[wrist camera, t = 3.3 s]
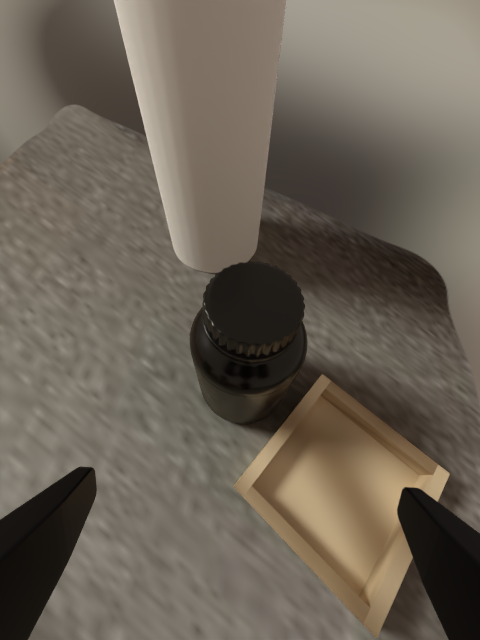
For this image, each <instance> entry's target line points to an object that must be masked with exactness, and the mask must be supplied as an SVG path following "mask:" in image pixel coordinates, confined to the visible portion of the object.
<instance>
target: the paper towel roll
mask: <svg viewBox="0 0 480 640" xmlns="http://www.w3.org/2000/svg"><path fill="white" fill-rule="evenodd" d="M114 3H115V7H116V11H117V16H118V20H119V24H120V28H121V32H122V36H123V40H124V45H125V49H126V53H127V57H128V61H129V65H130V69H131V74H132V77H133V82H134V86H135V90H136V94H137V99H138V102H139V106H140V110H141V115H142V119H143V123H144V128H145V132H146V136H147V140H148V144H149V148H150V152H151V157H152V161H153V165H154V169H155V173H156V177H157V181H158V185H159V190H160V194H161V198H162V202H163V206H164V210H165V214H166V219H167V223H168V227H169V231H170V235H171V239H172V243H173V248H174V251H175V253H176V255H177V256H178V258H179V259H180V260H181V261H182V262H183V263H184V264H186V265H187V266H189V267H191V268H193V269H195V270H198V271H202V272H208V273H218V272H221V271H222V270H223V269H224V268H227V267H229V266H231V265H234V264H238V263H240V262H242V263H246V262H248V261H249V260H250V259H251V258H252V257H253V255H254V254H255V251H256V249H257V244H258V236H259V227H260V219H261V210H262V201H263V193H264V184H265V175H266V167H267V158H268V149H269V141H270V132H271V125H272V116H273V107H274V98H275V90H276V82H277V73H278V65H279V56H280V48H281V39H282V30H283V21H284V13H285V4H286V0H114Z"/></svg>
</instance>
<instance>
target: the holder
mask: <svg viewBox="0 0 480 640" xmlns="http://www.w3.org/2000/svg"><path fill="white" fill-rule="evenodd" d="M449 475H450V473H448V472H447V471H446V470H444V469H443V468H442V467H441V466H439V465H438V464H437V463H436V462H434V461H433V460H432V459H430V458H429V457H428V456H427V455H425V454H424V453H423V452H421V451H420V450H419V449H418V448H416V447H415V446H414V445H413V444H411V443H410V442H409V441H407V440H406V439H405V438H404V437H402V436H401V435H400V434H398V433H397V432H396V431H395V430H393V429H392V428H391V427H390V426H388V425H387V424H386V423H384V422H383V421H382V420H381V419H379V418H378V417H377V416H375V415H374V414H373V413H372V412H370V411H369V410H368V409H367V408H365V407H364V406H363V405H361V404H360V403H359V402H358V401H356V400H355V399H354V398H352V397H351V396H350V395H349V394H347V393H346V392H345V391H344V390H342V389H341V388H340V387H338V386H337V385H336V384H335V383H333V382H332V381H331V380H329V379H328V378H327V377H326V376H324V375H323V374H322V375H321V376H320V377H319V378H318V379H317V381H316V382H315V383H314V384H313V385H312V387H311V388H310V389H309V391H308V392H307V393H306V394H305V396H304V397H303V398H302V399H301V401H300V402H299V403H298V405H297V406H296V407H295V408H294V410H293V411H292V412H291V413H290V415H289V416H288V417H287V419H286V420H285V421H284V422H283V424H282V425H281V426H280V427H279V429H278V430H277V431H276V433H275V434H274V435H273V436H272V438H271V439H270V440H269V441H268V443H267V444H266V445H265V447H264V448H263V449H262V450H261V452H260V453H259V454H258V455H257V457H256V458H255V459H254V461H253V462H252V463H251V464H250V466H249V467H248V468H247V469H246V471H245V472H244V473H243V475H242V476H241V477H240V478H239V480H238V481H237V482H236V483H235V485H234V488H235V489H236V490H237V491H238V492H239V493H240V494H241V495H242V496H243V497H244V498H245V499H246V500H247V501H248V502H249V504H250V505H251V506H252V507H253V508H254V509H255V510H256V511H257V512H258V513H259V514H260V515H261V516H262V517H263V518H264V519H265V521H266V522H267V523H268V524H269V525H270V526H271V527H272V528H273V529H274V530H275V531H276V532H277V533H278V534H279V535H280V536H281V538H282V539H283V540H284V541H285V542H286V543H287V544H288V545H289V546H290V547H291V548H292V549H293V550H294V551H295V552H296V553H297V555H298V556H299V557H300V558H301V559H302V560H303V561H304V562H305V563H306V564H307V565H308V566H309V567H310V568H311V569H312V571H313V572H314V573H315V574H316V575H317V576H318V577H319V578H320V579H321V580H322V581H323V582H324V583H325V584H326V585H327V586H328V588H329V589H330V590H331V591H332V592H333V593H334V594H335V595H336V596H337V597H338V598H339V599H340V600H341V601H342V602H343V603H344V605H345V606H346V607H347V608H348V609H349V610H350V611H351V612H352V613H353V614H354V615H355V616H356V617H357V618H358V619H359V620H360V622H361V623H362V624H363V625H364V626H365V627H366V628H367V629H368V630H369V631H370V632H371V633H372V634H373V635H374V636H375V637H376V639H377V637H378V635H379V633H380V630H381V628H382V626H383V624H384V621H385V619H386V617H387V615H388V612H389V610H390V608H391V606H392V603H393V601H394V599H395V597H396V594H397V592H398V590H399V588H400V585H401V583H402V581H403V579H404V576H405V574H406V572H407V570H408V567H409V565H410V563H411V561H412V558H413V557H412V554H411V551H410V548H409V546H408V543H407V540H406V538H405V535H404V532H403V530H402V527H401V524H400V522H399V519H398V515H397V507H398V503H399V500H400V496H401V492H402V489H403V488H404V487H415V488H419V489H421V490H423V491H424V492H425V493H427V494H428V495H429V496H430V497H432V498H433V499H434V500H436V501H437V502H438V500H439V498H440V495H441V493H442V491H443V489H444V486H445V484H446V482H447V480H448V477H449Z"/></svg>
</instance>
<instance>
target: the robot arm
mask: <svg viewBox="0 0 480 640" xmlns="http://www.w3.org/2000/svg"><path fill="white" fill-rule="evenodd" d="M96 491H97V488H96V477H95V470H94V468H92V467H78V468H76V469H75V470H73V471H72V472H70V473H69V474H67V475H66V476H64V477H63V478H61V479H60V480H58V481H57V482H55V483H54V484H52V485H51V486H50V487H48V488H47V489H45V490H44V491H42V492H41V493H39V494H38V495H36V496H35V497H33V498H32V499H30V500H29V501H27V502H26V503H24V504H23V505H21V506H20V507H18V508H17V509H15V510H14V511H12V512H11V513H10V514H8V515H7V516H5V517H4V518H2V519H1V520H0V640H28V638H29V636H30V634H31V632H32V630H33V628H34V626H35V625H36V623H37V621H38V619H39V617H40V615H41V613H42V611H43V609H44V607H45V605H46V604H47V602H48V600H49V598H50V596H51V594H52V592H53V590H54V588H55V586H56V584H57V583H58V581H59V579H60V577H61V575H62V573H63V571H64V569H65V567H66V565H67V563H68V561H69V559H70V557H71V554H72V552H73V550H74V547H75V545H76V543H77V540H78V538H79V536H80V533H81V531H82V528H83V526H84V524H85V521H86V519H87V516H88V514H89V512H90V509H91V507H92V505H93V502H94V500H95V497H96ZM397 515H398V519H399V522H400V524H401V527H402V530H403V532H404V535H405V538H406V540H407V543H408V546H409V548H410V551H411V554H412V557H413V559H414V562H415V565H416V567H417V570H418V573H419V575H420V578H421V580H422V583H423V585H424V587H425V589H426V592H427V594H428V596H429V598H430V600H431V603H432V605H433V607H434V609H435V611H436V613H437V615H438V618H439V620H440V622H441V624H442V626H443V628H444V630H445V633H446V635H447V637H448V639H449V640H480V533H478V532H477V531H476V530H474V529H473V528H472V527H470V526H469V525H468V524H466V523H465V522H464V521H462V520H461V519H460V518H458V517H457V516H456V515H454V514H453V513H452V512H450V511H449V510H448V509H446V508H445V507H444V506H442V505H441V504H440V503H438V502H437V501H436V500H434V499H433V498H432V497H430V496H429V495H428V494H427V493H425V492H424V491H423V490H421V489H419V488H415V487H404V488H403V489H402V492H401V496H400V500H399V503H398V507H397Z"/></svg>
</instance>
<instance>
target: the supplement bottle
mask: <svg viewBox="0 0 480 640" xmlns="http://www.w3.org/2000/svg"><path fill="white" fill-rule="evenodd" d="M203 299H204V300H203V307H202V308H201V309H200V311H199V312H198V313H197V315H196V317H195V319H194V321H193V324H192V327H191V332H190V349H191V354H192V358H193V362H194V366H195V369H196V373H197V377H198V381H199V384H200V388H201V391H202V394H203V397H204V399H205V401H206V403H207V404H208V406H209V407H210V408H211V410H212V411H213V412H214V413H216V414H217V415H218V416H220V417H221V418H223V419H225V420H227V421H230V422H234V423H252V422H256V421H259V420H261V419H263V418H265V417H266V416H268V415H269V414H270V413H271V412H272V411H273V410H274V409H275V408H276V407H277V405H278V404H279V403H280V401H281V400H282V398H283V396H284V395H285V393H286V392H287V390H288V388H289V387H290V385H291V384H292V382H293V380H294V379H295V377H296V376H297V374H298V372H299V371H300V369H301V367H302V365H303V362H304V360H305V356H306V352H307V334H306V330H305V326H304V324H303V321H302V320H303V317H304V309H305V304H304V302H303V301H304V297H303V295H302V294H301V289H300V288H299V287H298V286H297V282H295V281H294V280H293V279H292V277H291V276H290V275H288V274H286V273H285V272H284V271H283V270H280V269H278V268H277V267H276V266H271V265H269V264H267V263H260V262H246V263H242V262H240V263H238V264H234V265H231V266H229V267H227V268H224V269H223V270H222V271H221V272H218V273H217V274H216V275H215V277H213V278H212V279H211V280H210V283H209V284H208V285H207V286H206V291H205V292H204V294H203Z"/></svg>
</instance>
